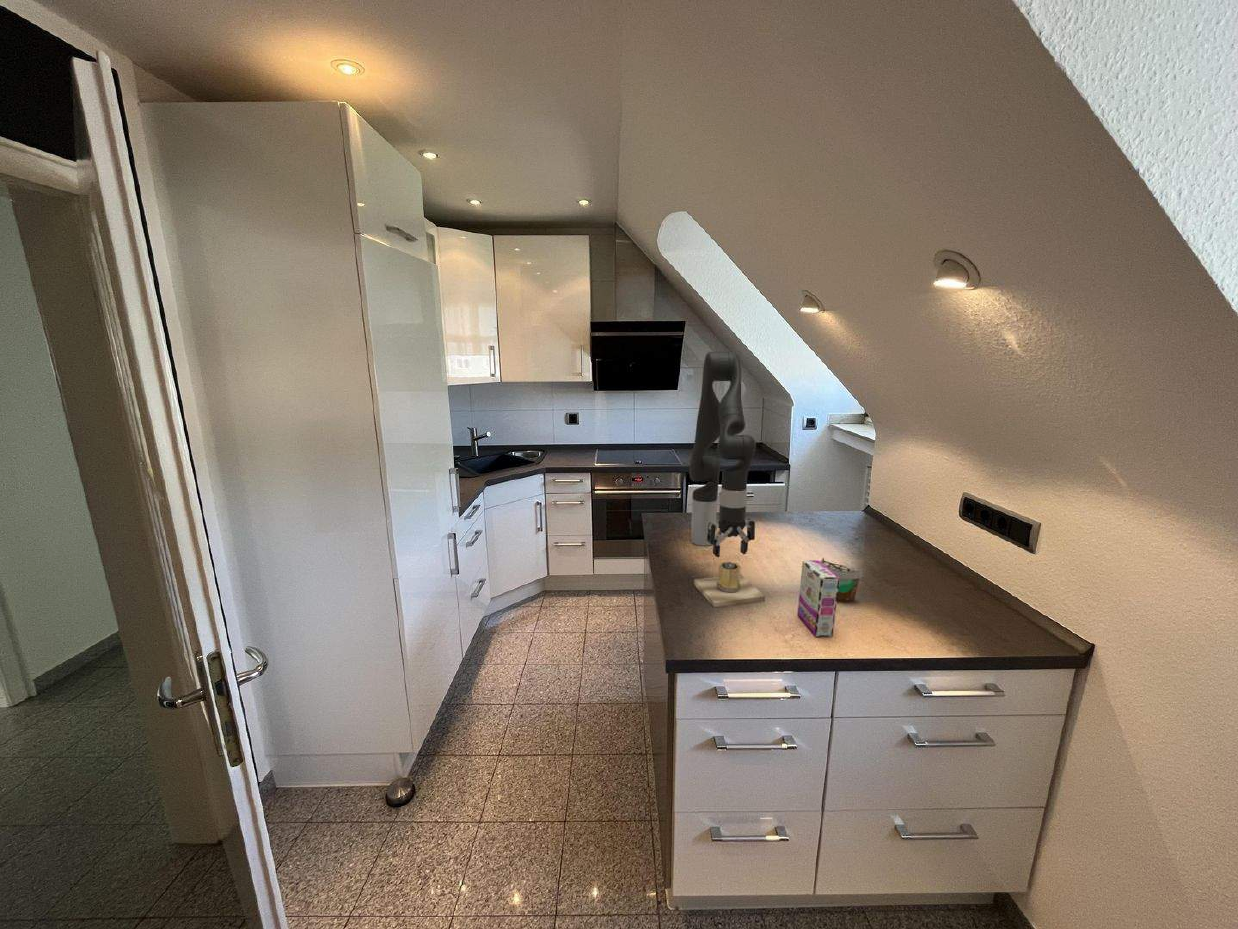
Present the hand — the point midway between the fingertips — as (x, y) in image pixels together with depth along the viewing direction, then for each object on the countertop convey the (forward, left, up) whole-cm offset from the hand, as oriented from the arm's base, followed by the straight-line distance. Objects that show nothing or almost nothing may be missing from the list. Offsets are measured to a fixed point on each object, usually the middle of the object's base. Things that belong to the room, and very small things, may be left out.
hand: (729, 554), depth 144 cm
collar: (0, 0, -10) cm, 10 cm away
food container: (+11, +29, -12) cm, 33 cm away
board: (0, 0, -12) cm, 12 cm away
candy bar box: (+23, +14, -12) cm, 29 cm away
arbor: (0, 0, -11) cm, 11 cm away
